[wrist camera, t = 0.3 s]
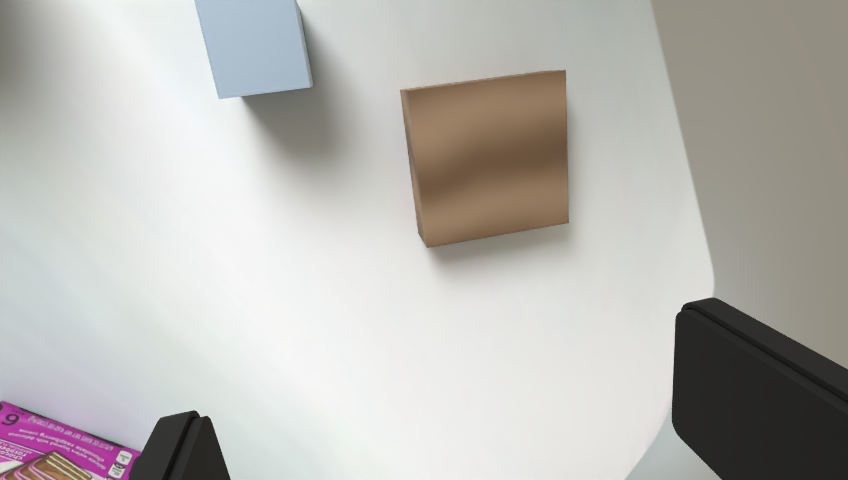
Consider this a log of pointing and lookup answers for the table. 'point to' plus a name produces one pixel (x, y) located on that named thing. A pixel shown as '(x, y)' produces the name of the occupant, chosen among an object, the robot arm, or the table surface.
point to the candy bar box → (57, 450)
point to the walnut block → (488, 156)
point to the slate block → (254, 46)
